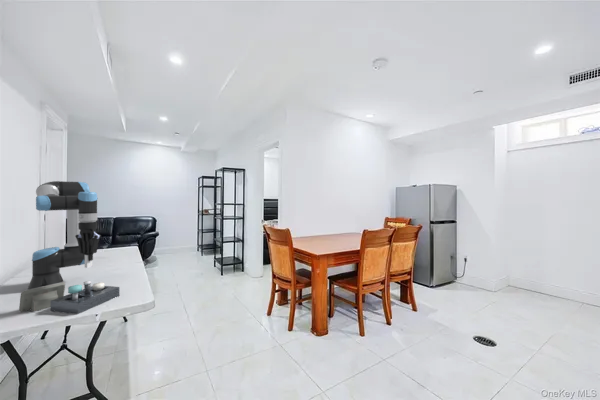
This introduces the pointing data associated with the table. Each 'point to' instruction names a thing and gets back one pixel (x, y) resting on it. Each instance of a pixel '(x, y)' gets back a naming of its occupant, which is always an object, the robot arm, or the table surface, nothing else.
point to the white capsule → (87, 287)
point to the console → (84, 300)
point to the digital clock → (41, 297)
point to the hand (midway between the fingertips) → (88, 266)
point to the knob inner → (98, 286)
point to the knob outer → (75, 291)
